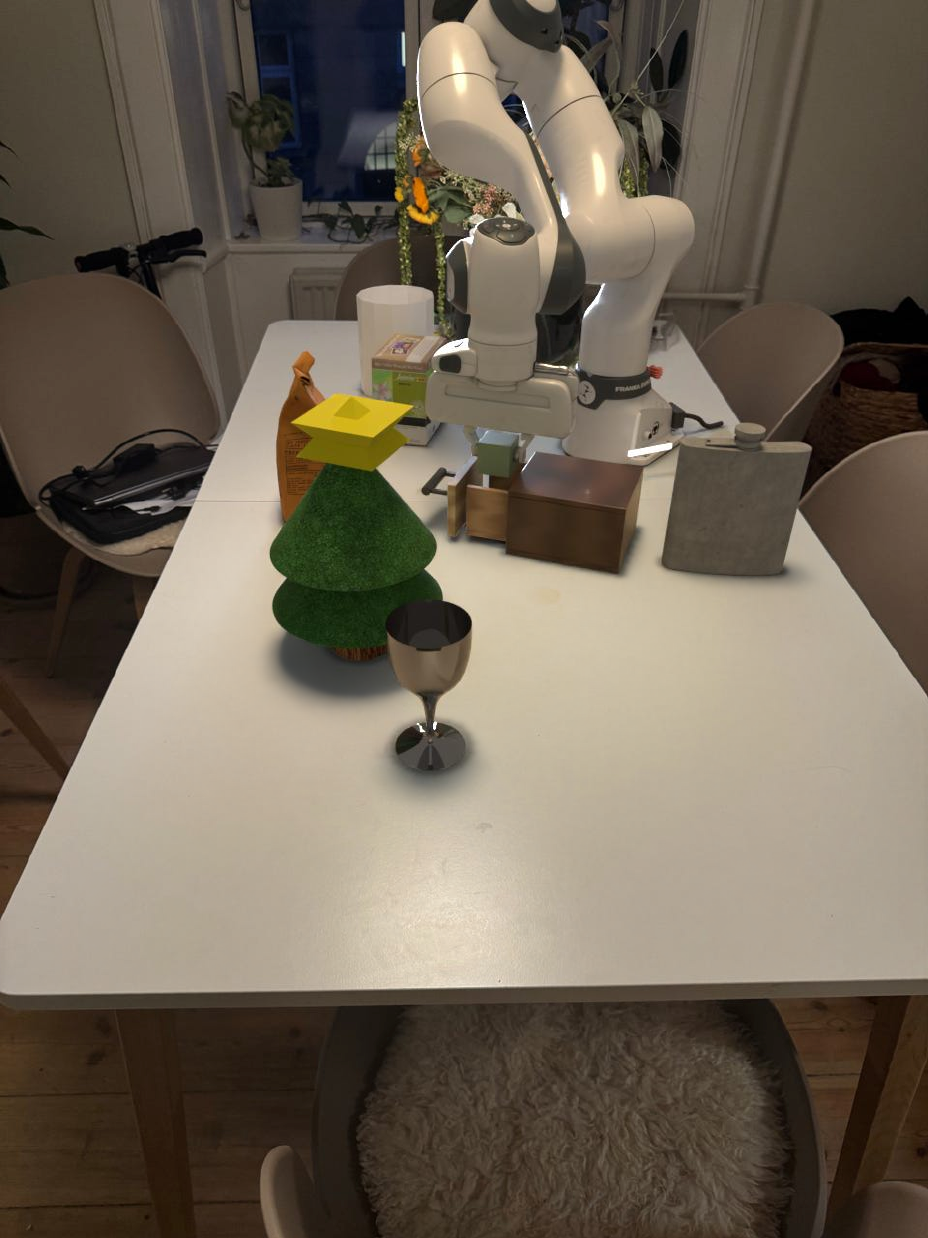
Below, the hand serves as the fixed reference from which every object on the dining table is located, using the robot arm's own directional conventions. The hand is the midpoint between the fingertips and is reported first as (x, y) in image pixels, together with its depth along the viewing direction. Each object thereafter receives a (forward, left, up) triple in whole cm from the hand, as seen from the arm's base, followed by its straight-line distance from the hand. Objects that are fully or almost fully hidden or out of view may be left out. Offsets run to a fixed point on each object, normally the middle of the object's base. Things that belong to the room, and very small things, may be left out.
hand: (498, 458), depth 121 cm
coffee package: (+16, -22, -11) cm, 30 cm away
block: (0, 0, -2) cm, 2 cm away
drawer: (0, 0, -10) cm, 10 cm away
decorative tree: (+31, +11, -11) cm, 35 cm away
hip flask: (-16, +28, -11) cm, 34 cm away
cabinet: (-6, +10, -11) cm, 16 cm away
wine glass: (+36, +30, -11) cm, 48 cm away
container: (-25, -55, -11) cm, 61 cm away
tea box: (-14, -37, -11) cm, 41 cm away
